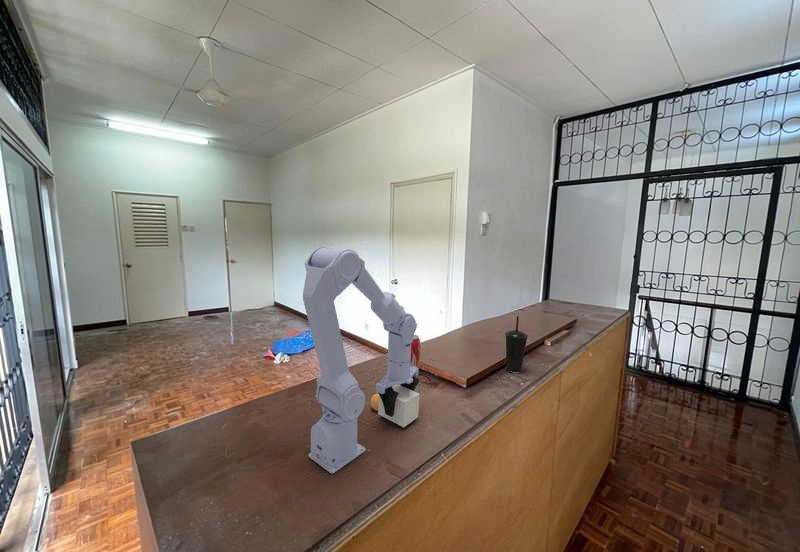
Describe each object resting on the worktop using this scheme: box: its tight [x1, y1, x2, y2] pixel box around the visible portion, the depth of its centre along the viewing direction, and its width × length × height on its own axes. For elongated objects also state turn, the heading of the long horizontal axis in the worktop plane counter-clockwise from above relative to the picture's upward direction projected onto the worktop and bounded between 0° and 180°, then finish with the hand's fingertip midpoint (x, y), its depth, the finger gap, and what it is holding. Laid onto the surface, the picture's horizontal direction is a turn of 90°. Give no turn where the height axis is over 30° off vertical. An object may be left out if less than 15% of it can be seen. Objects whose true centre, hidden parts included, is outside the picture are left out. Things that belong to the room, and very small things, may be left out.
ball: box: [370, 392, 379, 412], centre depth 87 cm, size 4×4×4 cm
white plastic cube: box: [377, 384, 420, 428], centre depth 82 cm, size 6×8×6 cm
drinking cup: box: [504, 315, 529, 372], centre depth 113 cm, size 8×8×20 cm
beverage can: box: [410, 334, 421, 368], centre depth 113 cm, size 6×6×12 cm
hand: (397, 409), depth 82 cm, fingers closed on white plastic cube, 6 cm apart
